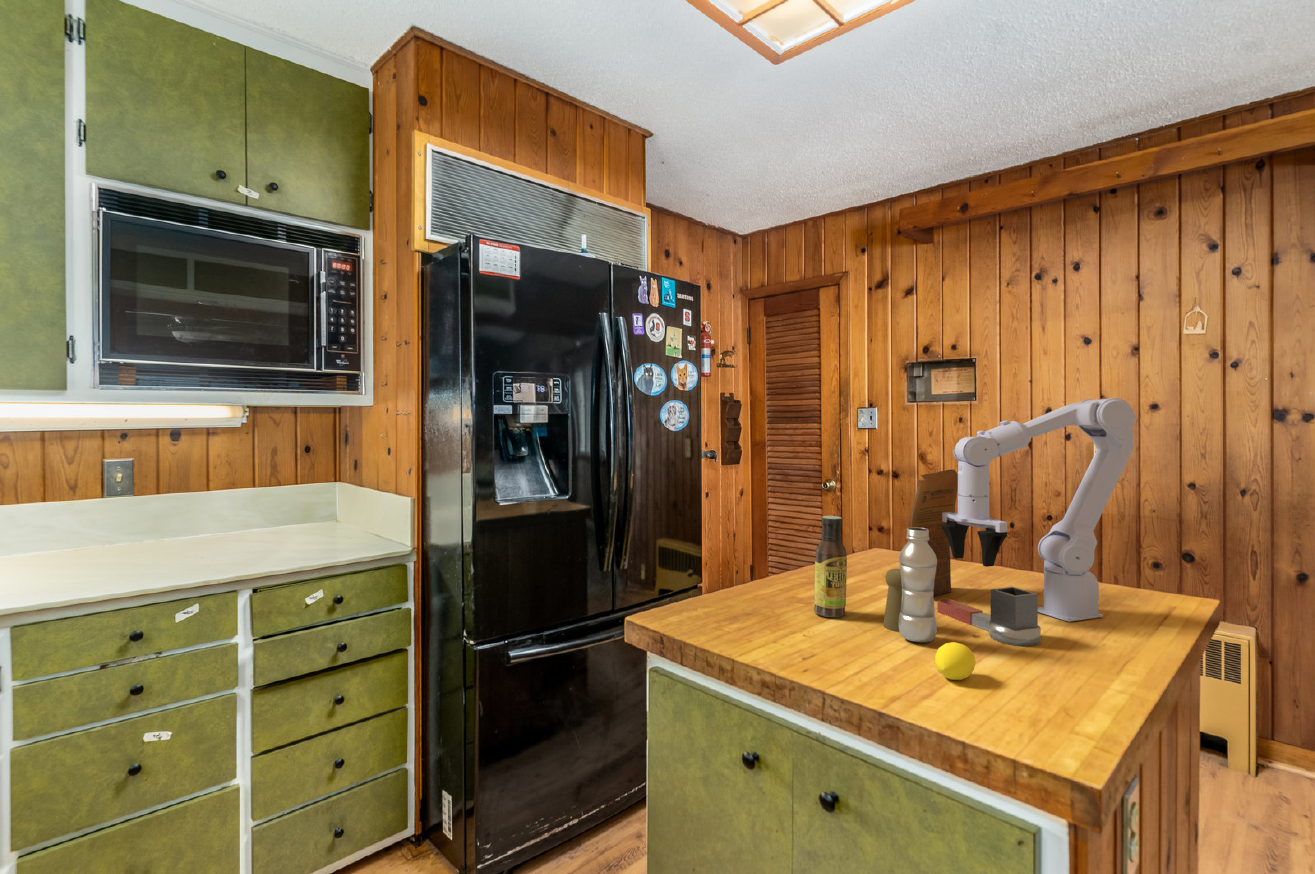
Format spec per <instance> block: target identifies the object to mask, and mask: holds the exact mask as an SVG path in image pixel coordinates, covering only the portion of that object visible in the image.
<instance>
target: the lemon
mask: <svg viewBox="0 0 1315 874" xmlns="http://www.w3.org/2000/svg"><path fill="white" fill-rule="evenodd" d="M934 656H935V660H934V661H935V663H934V664H935V666H936V669H937V671H938V672H939V673H940V674H942V675H943V677H944V678H945V679H948V680H951V681H962V680H964V679H966V678H968V677H970V675H971V674H972V673H973V672H974V671H975V666H976V663H977V661H976V658H975V655H974V653H973V651H972V650H971V648H969V647H968V646H966V645H964V644H963V643H958V642H955V641H951V642H946V643H944V644H942V645H941V646H939V647H938V649H937V650H936V653H935V655H934Z"/></svg>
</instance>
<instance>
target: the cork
mask: <svg viewBox="0 0 1315 874" xmlns="http://www.w3.org/2000/svg"><path fill="white" fill-rule="evenodd" d="M885 583H886V584H887V586H888V589H887V597H886V603H885V609H884V616H883V624H882V626H883V628H885V629H886V628H887V630H888V631H893V632H897V633H900V632H899V626H898V622H899V615H900V612H901V601H902V581H901V572H900V568H892V569H891V568H890V569H888V570H887V571H886V573H885Z"/></svg>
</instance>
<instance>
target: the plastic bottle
mask: <svg viewBox="0 0 1315 874" xmlns="http://www.w3.org/2000/svg"><path fill="white" fill-rule="evenodd" d="M905 537H906V538H905V539H906V540H907V543H905V544H904V546H903V547H902V549H901V551H899V555H898V563H899V565H898V566H899V569H900V572H901V581H902V601H901V612H900V615H899V622H898V626H899V632H898V633H900V635H901V637H902V638H903V639H906V640H907V641H911V642H914V643H930V642H932V641H933V640H934V639H935V638H936V636H937V631H938V624H937V618H936V613H935V612H936V611H935V600H934V597H933V594H934V591H933V590H934V579H935V573H936V566H937V558H936V555H935V553H934V551H933V550H932V548H931V547H930V546H929V544H928V540H929V531H928V529H926V528H918V527H911V528H910V527H907V528H906V536H905Z"/></svg>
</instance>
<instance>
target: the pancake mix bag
mask: <svg viewBox="0 0 1315 874" xmlns="http://www.w3.org/2000/svg"><path fill="white" fill-rule="evenodd" d="M957 498H958V472H957V471H956V470H955V469H946V470H939V471H937V472H932V473H924V474H922V475H920V479H919V480H918V484H917V488H916V492H915V498H914V501H913V505H912V510H911V516H910V522H909V528H911V527H918V528H926V529H928V531H929V540H928V544H929V546H930V547H931V548H932V550H933V551H934V553H935V555H936V558H937V566H936V573H935V579H934V590H933V591H934V594H933V598H934V597H937V596H940V595H945V594H947V593H952V579H951V577H952V576H951V575H952V573H951V570H952V569H951V547H950V544H949V541H948V539H947V536H946V534H945V533H944V531H943V529H942V525H943V524H946V523H947V522H943V521H942V513H944V512H952V513H956V502H957Z"/></svg>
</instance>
